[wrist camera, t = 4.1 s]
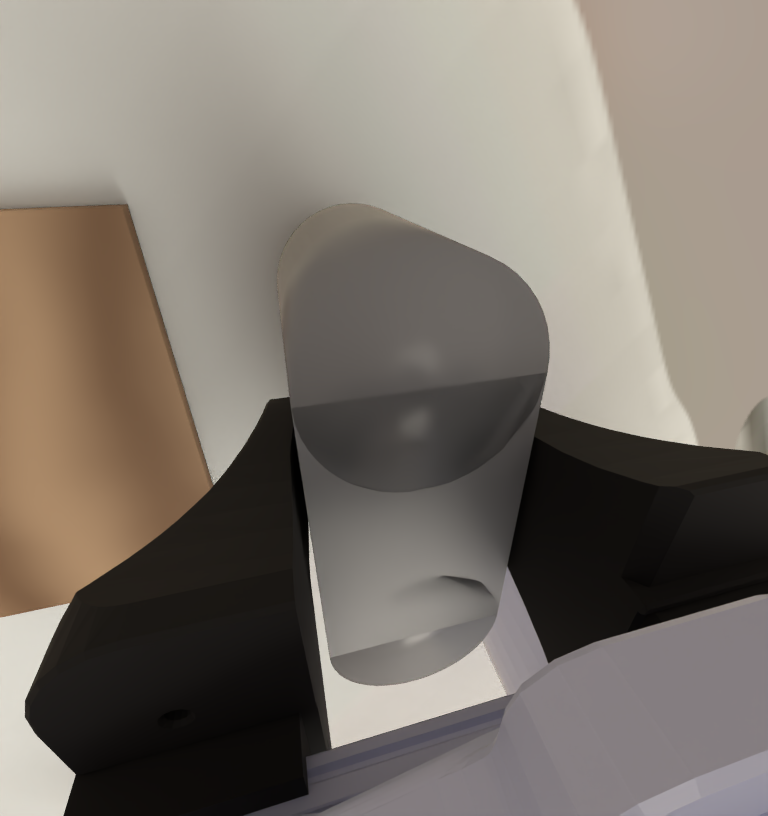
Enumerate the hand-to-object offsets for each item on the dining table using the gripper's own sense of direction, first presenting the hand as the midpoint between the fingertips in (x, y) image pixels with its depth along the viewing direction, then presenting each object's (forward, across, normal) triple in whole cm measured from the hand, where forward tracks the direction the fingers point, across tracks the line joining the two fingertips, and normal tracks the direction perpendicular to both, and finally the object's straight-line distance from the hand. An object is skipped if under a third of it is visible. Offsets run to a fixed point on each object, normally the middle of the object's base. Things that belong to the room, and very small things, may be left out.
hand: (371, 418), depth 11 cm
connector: (+2, 0, 0) cm, 2 cm away
